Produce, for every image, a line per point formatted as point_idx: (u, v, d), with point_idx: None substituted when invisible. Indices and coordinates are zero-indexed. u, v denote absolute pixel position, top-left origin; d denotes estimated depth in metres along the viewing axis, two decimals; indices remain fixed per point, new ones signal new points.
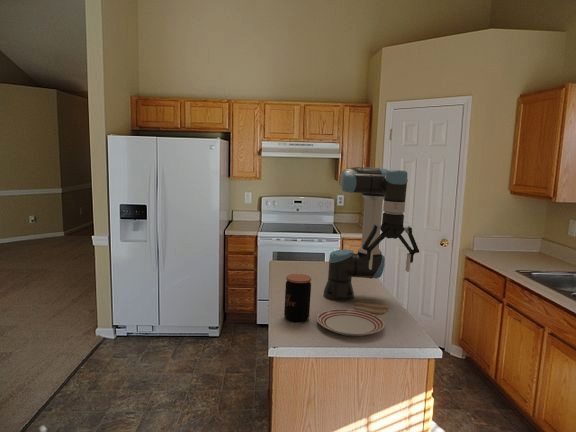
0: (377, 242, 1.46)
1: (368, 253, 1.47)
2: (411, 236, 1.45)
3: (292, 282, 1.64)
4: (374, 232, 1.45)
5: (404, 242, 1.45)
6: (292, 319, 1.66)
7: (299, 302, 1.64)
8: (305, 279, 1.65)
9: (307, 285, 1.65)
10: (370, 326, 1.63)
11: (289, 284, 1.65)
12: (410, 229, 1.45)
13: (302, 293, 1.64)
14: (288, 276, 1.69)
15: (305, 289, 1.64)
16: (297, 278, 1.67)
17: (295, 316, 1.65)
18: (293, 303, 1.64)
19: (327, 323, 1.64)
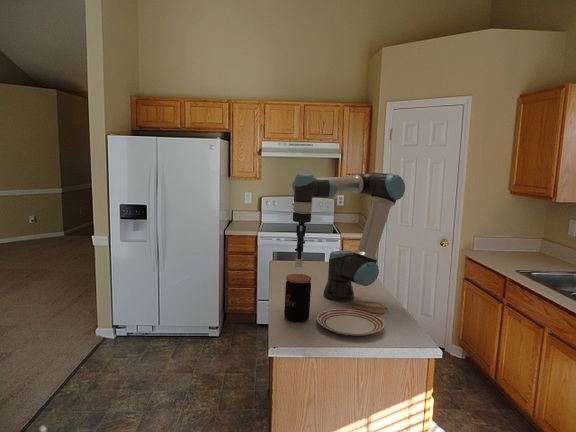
0: None
1: None
2: (297, 234, 1.59)
3: (292, 282, 1.64)
4: None
5: None
6: (292, 319, 1.66)
7: (299, 302, 1.64)
8: (305, 279, 1.65)
9: (307, 285, 1.65)
10: (370, 326, 1.63)
11: (289, 284, 1.65)
12: (298, 227, 1.59)
13: (302, 293, 1.64)
14: (288, 276, 1.69)
15: (305, 289, 1.64)
16: (297, 278, 1.67)
17: (295, 316, 1.65)
18: (293, 303, 1.64)
19: (327, 323, 1.64)
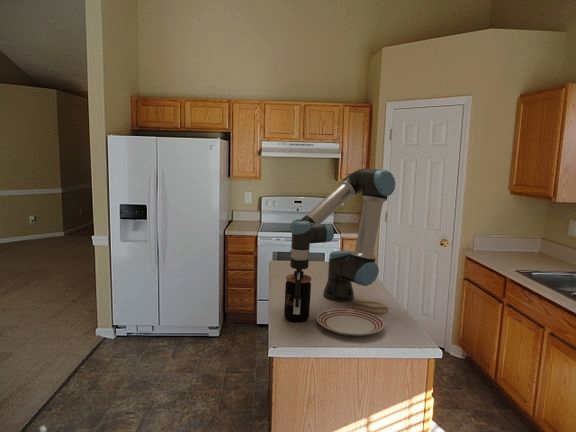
0: None
1: None
2: (295, 282, 1.62)
3: (292, 282, 1.64)
4: None
5: None
6: (292, 319, 1.66)
7: None
8: (305, 279, 1.65)
9: (307, 285, 1.65)
10: (370, 326, 1.63)
11: (289, 284, 1.65)
12: (295, 276, 1.62)
13: (302, 293, 1.64)
14: (288, 276, 1.69)
15: (305, 289, 1.64)
16: None
17: (295, 316, 1.65)
18: (293, 303, 1.64)
19: (327, 323, 1.64)
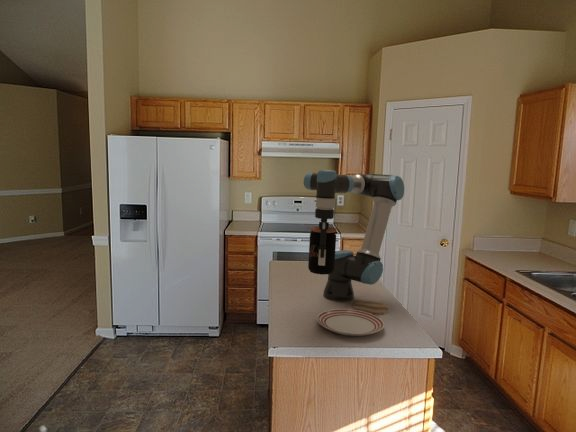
0: None
1: None
2: (320, 231, 1.56)
3: (317, 232, 1.59)
4: None
5: None
6: (317, 271, 1.60)
7: None
8: (330, 229, 1.60)
9: (332, 235, 1.59)
10: (370, 326, 1.63)
11: (313, 234, 1.60)
12: (320, 225, 1.56)
13: (327, 243, 1.58)
14: (312, 227, 1.63)
15: (330, 240, 1.59)
16: None
17: (320, 267, 1.60)
18: (318, 254, 1.59)
19: (327, 323, 1.64)
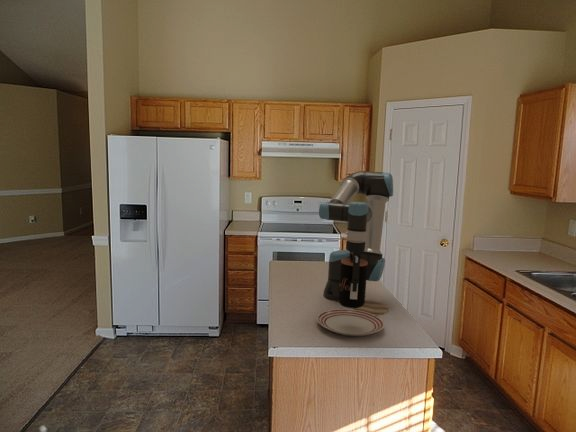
0: None
1: None
2: (353, 265, 1.54)
3: (349, 265, 1.57)
4: None
5: None
6: (348, 304, 1.58)
7: None
8: (362, 262, 1.58)
9: (364, 269, 1.58)
10: (370, 326, 1.63)
11: (345, 267, 1.58)
12: (353, 258, 1.54)
13: (359, 277, 1.56)
14: (343, 259, 1.61)
15: (363, 273, 1.57)
16: None
17: (352, 301, 1.57)
18: (350, 287, 1.57)
19: (327, 323, 1.64)
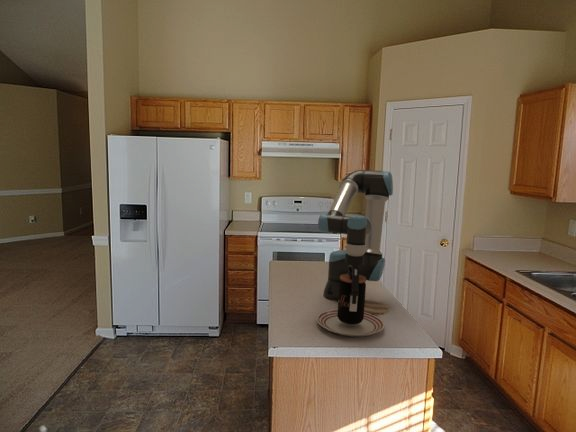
0: None
1: None
2: (352, 278, 1.55)
3: (347, 282, 1.58)
4: (349, 267, 1.68)
5: (351, 282, 1.57)
6: (347, 321, 1.59)
7: None
8: (360, 279, 1.59)
9: (363, 285, 1.59)
10: (370, 327, 1.63)
11: (344, 284, 1.59)
12: (352, 271, 1.55)
13: None
14: (342, 276, 1.62)
15: (361, 290, 1.58)
16: None
17: (350, 317, 1.59)
18: (348, 304, 1.58)
19: (327, 323, 1.64)
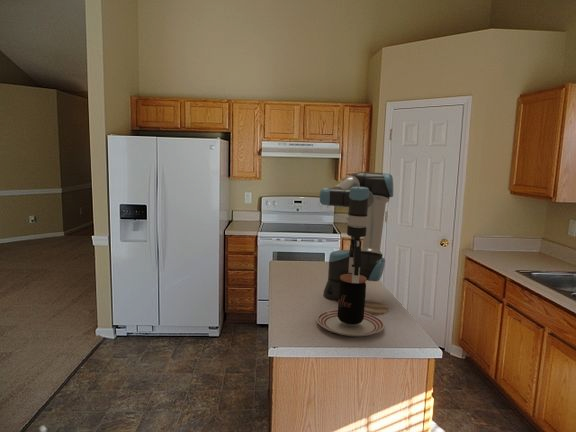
0: (350, 249, 1.66)
1: None
2: (354, 249, 1.53)
3: (348, 282, 1.58)
4: None
5: (353, 254, 1.56)
6: (347, 321, 1.59)
7: (355, 303, 1.58)
8: (361, 279, 1.59)
9: (363, 285, 1.59)
10: (370, 327, 1.63)
11: (344, 284, 1.59)
12: (354, 242, 1.54)
13: (358, 293, 1.58)
14: (342, 276, 1.62)
15: (361, 290, 1.58)
16: None
17: (351, 317, 1.59)
18: (349, 304, 1.58)
19: (327, 324, 1.64)
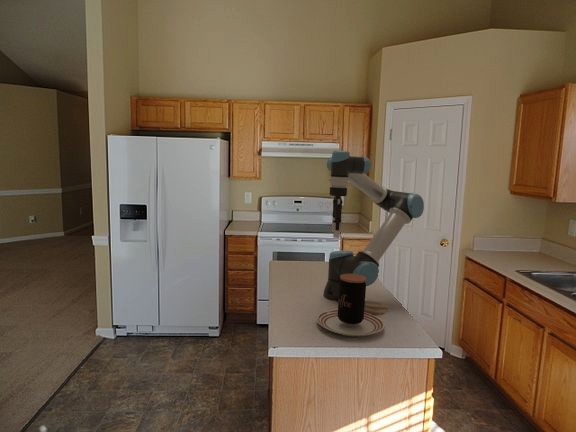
0: (333, 210, 1.81)
1: None
2: (335, 206, 1.69)
3: (348, 282, 1.58)
4: None
5: None
6: (347, 320, 1.59)
7: (355, 303, 1.58)
8: (361, 279, 1.59)
9: (363, 285, 1.59)
10: (370, 327, 1.63)
11: (344, 284, 1.59)
12: (335, 200, 1.69)
13: (358, 293, 1.58)
14: (342, 276, 1.62)
15: (362, 289, 1.58)
16: (352, 277, 1.61)
17: (351, 317, 1.59)
18: (349, 304, 1.58)
19: (327, 323, 1.64)
